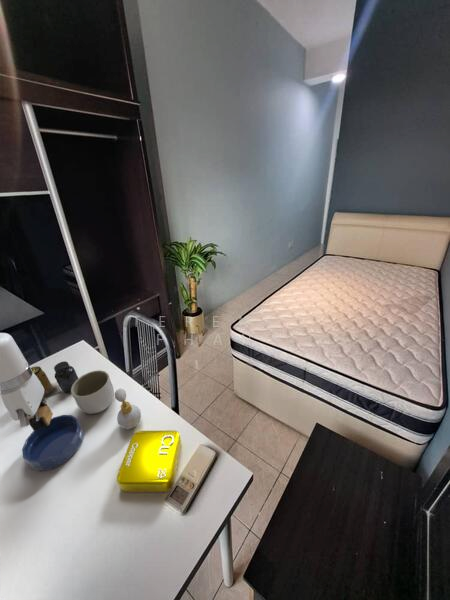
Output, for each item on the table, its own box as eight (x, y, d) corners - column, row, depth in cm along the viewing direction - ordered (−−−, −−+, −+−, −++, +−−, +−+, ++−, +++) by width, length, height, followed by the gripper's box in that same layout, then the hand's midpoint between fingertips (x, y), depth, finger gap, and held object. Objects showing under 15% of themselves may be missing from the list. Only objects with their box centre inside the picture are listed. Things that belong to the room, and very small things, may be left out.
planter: (123, 397, 95) (116, 376, 90) (96, 423, 85) (86, 402, 80) (102, 386, 100) (94, 366, 95) (73, 410, 91) (62, 389, 86)
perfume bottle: (130, 437, 80) (121, 412, 75) (111, 424, 85) (101, 400, 79) (147, 418, 86) (139, 395, 80) (128, 407, 91) (119, 384, 85)
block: (33, 429, 71) (27, 420, 69) (38, 417, 75) (32, 409, 73) (49, 425, 72) (43, 416, 70) (52, 413, 76) (47, 405, 74)
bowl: (21, 479, 71) (13, 470, 68) (38, 432, 84) (32, 423, 81) (79, 460, 75) (73, 451, 72) (87, 418, 87) (82, 409, 85)
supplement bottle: (58, 391, 99) (46, 369, 93) (72, 379, 105) (62, 357, 99) (70, 395, 97) (59, 373, 91) (84, 383, 103) (74, 361, 97)
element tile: (137, 438, 80) (133, 429, 78) (182, 438, 79) (180, 429, 77) (118, 492, 67) (113, 483, 64) (172, 492, 66) (169, 483, 64)
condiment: (34, 391, 100) (21, 369, 94) (58, 381, 104) (47, 359, 98) (35, 403, 95) (21, 380, 89) (60, 391, 99) (48, 369, 93)
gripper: (11, 360, 71) (38, 402, 80) (-20, 406, 57) (17, 452, 65) (40, 353, 73) (64, 396, 81) (18, 397, 58) (49, 443, 67)
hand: (43, 420), depth 73 cm, fingers closed on block, 4 cm apart
